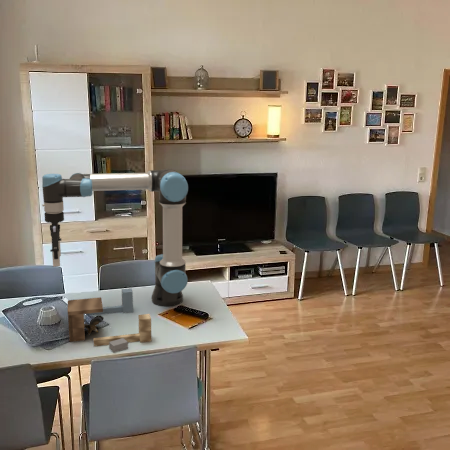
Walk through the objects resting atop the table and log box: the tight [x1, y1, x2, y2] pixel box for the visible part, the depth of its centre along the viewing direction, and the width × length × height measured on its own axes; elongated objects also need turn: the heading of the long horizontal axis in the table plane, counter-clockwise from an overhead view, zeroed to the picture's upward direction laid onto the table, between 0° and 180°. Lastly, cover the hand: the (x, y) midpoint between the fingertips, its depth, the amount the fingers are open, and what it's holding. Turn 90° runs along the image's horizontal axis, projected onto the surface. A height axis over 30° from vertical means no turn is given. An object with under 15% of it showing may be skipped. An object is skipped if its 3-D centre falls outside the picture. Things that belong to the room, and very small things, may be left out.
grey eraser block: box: [108, 338, 129, 353], centre depth 194 cm, size 6×4×3 cm, turn 127°
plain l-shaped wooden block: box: [93, 313, 152, 347], centre depth 198 cm, size 22×4×10 cm, turn 107°
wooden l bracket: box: [67, 296, 104, 343], centre depth 204 cm, size 14×12×13 cm
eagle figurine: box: [84, 314, 104, 337], centre depth 207 cm, size 8×7×9 cm
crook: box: [84, 287, 134, 322], centre depth 221 cm, size 22×12×10 cm, turn 107°
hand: (57, 261), depth 209 cm, fingers open, 13 cm apart
